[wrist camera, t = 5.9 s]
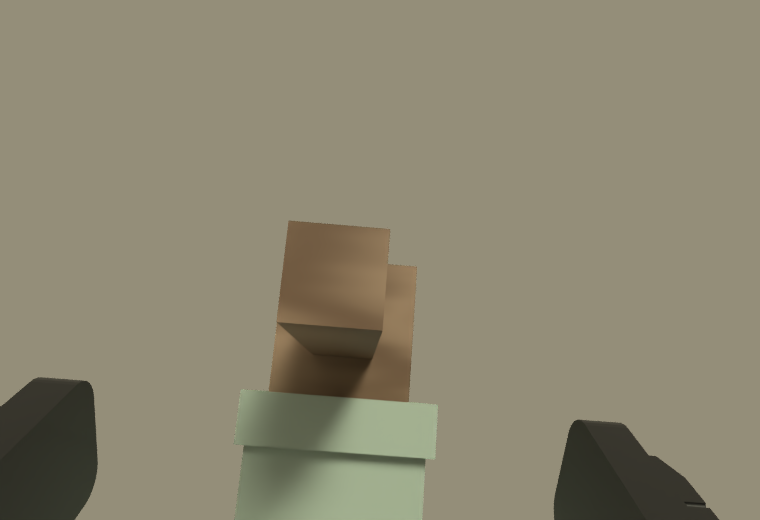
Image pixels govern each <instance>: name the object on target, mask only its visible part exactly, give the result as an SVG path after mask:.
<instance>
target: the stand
mask: <svg viewBox="0 0 760 520" xmlns="http://www.w3.org/2000/svg"><path fill="white" fill-rule="evenodd" d="M437 411H438V405H433V404H424V403H415V402H397V401H384V400H371V399H358V398H345V397H333V396H320V395H307V394H294V393H282V392H269V391H258V390H241V393H240V401H239V408H238V416H237V424H236V431H235V439H234V444H236V445H244V449H243V457H242V465H241V473H240V481H239V488H238V496H237V504H236V512H235V519H234V520H422V514H423V513H422V512H423V495H424V477H425V476H424V475H425V459H435V453H436V433H437Z"/></svg>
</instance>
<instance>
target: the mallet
mask: <svg viewBox="0 0 760 520" xmlns="http://www.w3.org/2000/svg"><path fill="white" fill-rule="evenodd" d="M389 238H390V229H382V228H370V227H357V226H346V225H334V224H321V223H309V222H298V221H289V223H288V231H287V239H286V247H285V255H284V264H283V273H282V280H281V289H280V297H279V306H278V314H277V327H276V328H277V329H276V336H275V344H274V352H273V361H272V370H271V377H270V386H269V392H282V393H294V394H307V395H320V396H333V397H345V398H358V399H371V400H384V401H397V402H409V387H410V371H411V354H412V337H413V322H414V306H415V290H416V274H417V267H414V266H402V265H389V264H388V252H389Z"/></svg>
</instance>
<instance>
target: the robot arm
mask: <svg viewBox="0 0 760 520" xmlns="http://www.w3.org/2000/svg"><path fill="white" fill-rule="evenodd" d="M97 465H98V462H97V444H96V425H95V408H94V394H93V389H92V386H91V385H90V383H89V382H87V381H80V380H68V379H55V378H36V379H33V380H32V381H31V382H29V383H28V384H27V385H26V386H25V387H24V388H22V389H21V390H20V391H19V392H18V393H16V394H15V395H14V396H13V397H12V398H11V399H10V400H8V401H7V402H6V403H5V404H3V405H2V406H0V520H75V518H76V517H77V516H78V514H79V513H80V511H81V509H82V508H83V507H84V505H85V504H86V502H87V501H88V499H89V497H90V494H91V492H92V489H93V486H94V483H95V479H96V474H97ZM705 504H706V503H705V502H704V500H703V499H702V498H701V497H700V496H699V495H698V493H697V492H696V491H695V489H694V488H693V487H692V486H691V485H690V483H689V482H688V481H687V480H686V479H685V478H684V477H683V476H682V475H680V474H679V473H678V472H676V471H675V470H674V469H672V468H671V467H670V466H668V465H667V464H666V463H664V462H663V461H662V460H660V459H659V458H658V457H656V456H649V455H648V454H647V453H646V452H645V450H644V449H643V448H642V446H641V445H640V444H639V442H638V441H637V440H636V439H635V437H634V436H633V434H632V433H631V432H630V431H629V429H628V428H627V427H626V426H625V425H624V424H622V423H615V422H601V421H587V420H576V421H574V422H573V424H572V425H571V428H570V430H569V434H568V438H567V443H566V447H565V452H564V456H563V461H562V465H561V470H560V475H559V479H558V484H557V488H556V493H555V499H554V520H719V519H718V518H717V516H716V515H715V514H714V513H713V512H712V510H711V509H710V508H706V505H705Z"/></svg>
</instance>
